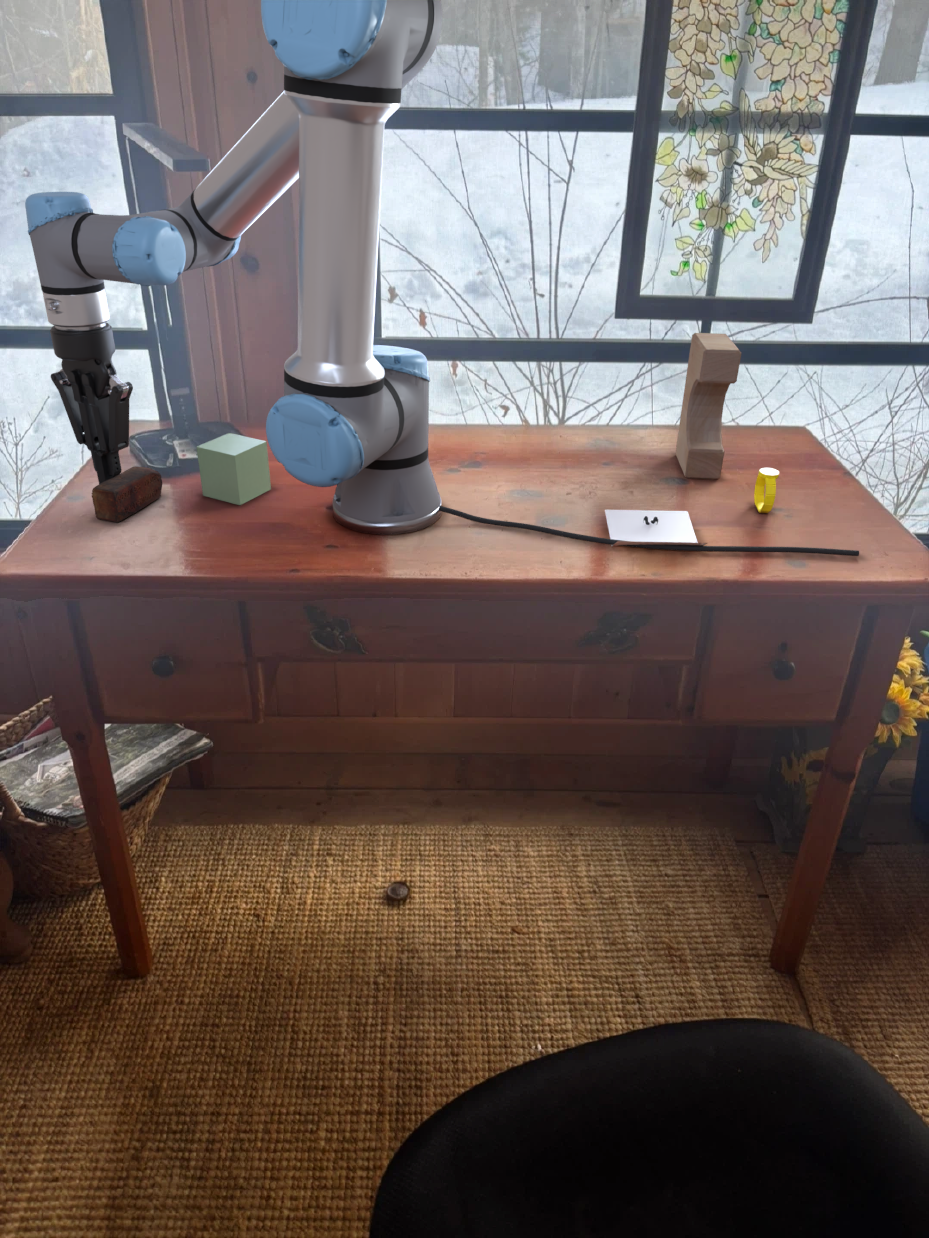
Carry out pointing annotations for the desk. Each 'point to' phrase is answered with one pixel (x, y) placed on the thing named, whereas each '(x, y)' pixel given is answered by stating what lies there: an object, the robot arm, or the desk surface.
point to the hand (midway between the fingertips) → (112, 494)
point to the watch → (768, 478)
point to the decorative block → (705, 404)
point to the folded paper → (651, 527)
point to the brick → (126, 493)
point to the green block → (234, 468)
